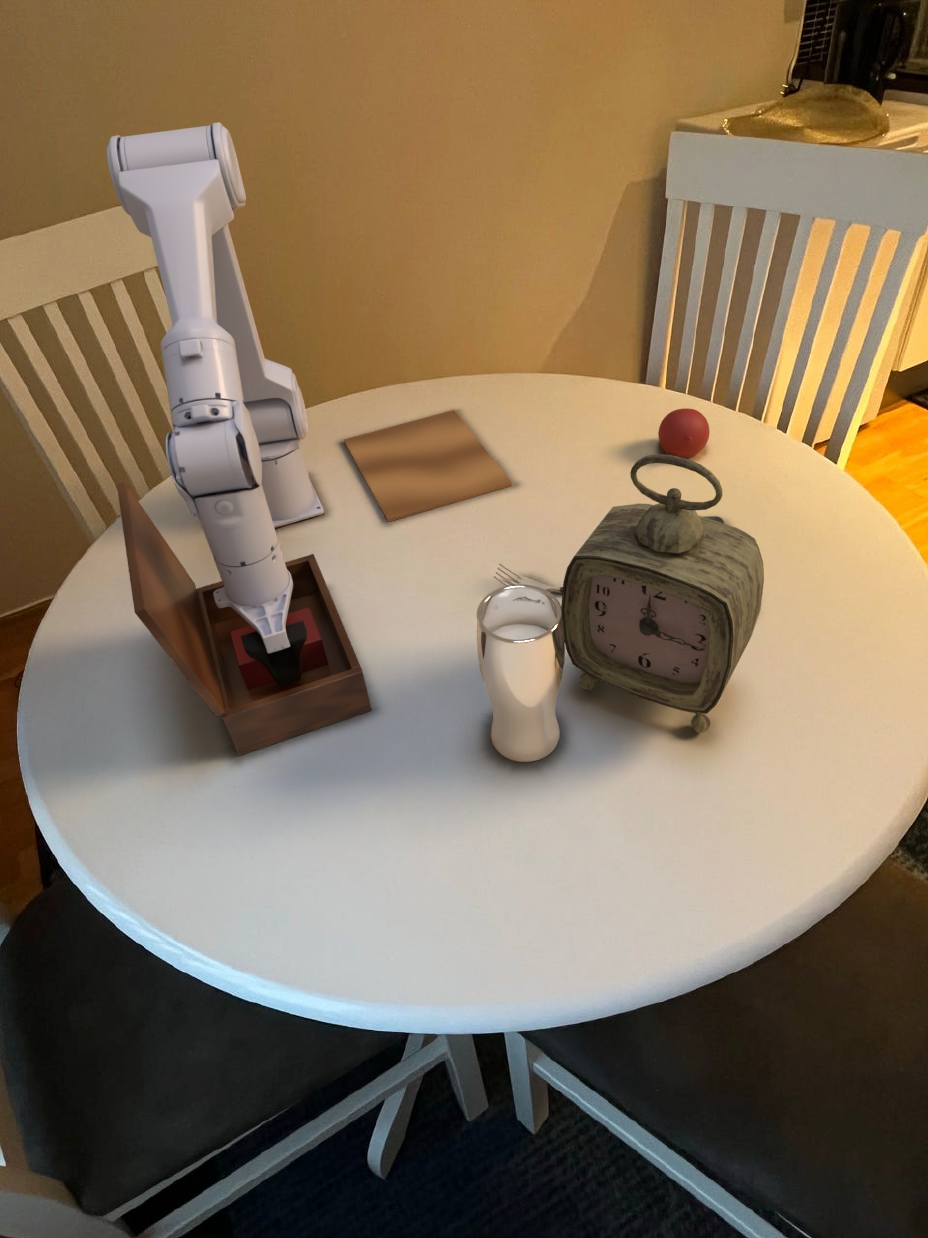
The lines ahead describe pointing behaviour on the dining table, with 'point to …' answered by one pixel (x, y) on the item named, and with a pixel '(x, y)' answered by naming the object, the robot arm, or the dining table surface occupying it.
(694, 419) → the fruit
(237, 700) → the chest
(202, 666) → the lid
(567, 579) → the tabletop clock
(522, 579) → the fork
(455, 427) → the wooden board
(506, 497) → the dining table surface
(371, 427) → the dining table surface
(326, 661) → the dark-red plain block
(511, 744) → the beer glass
